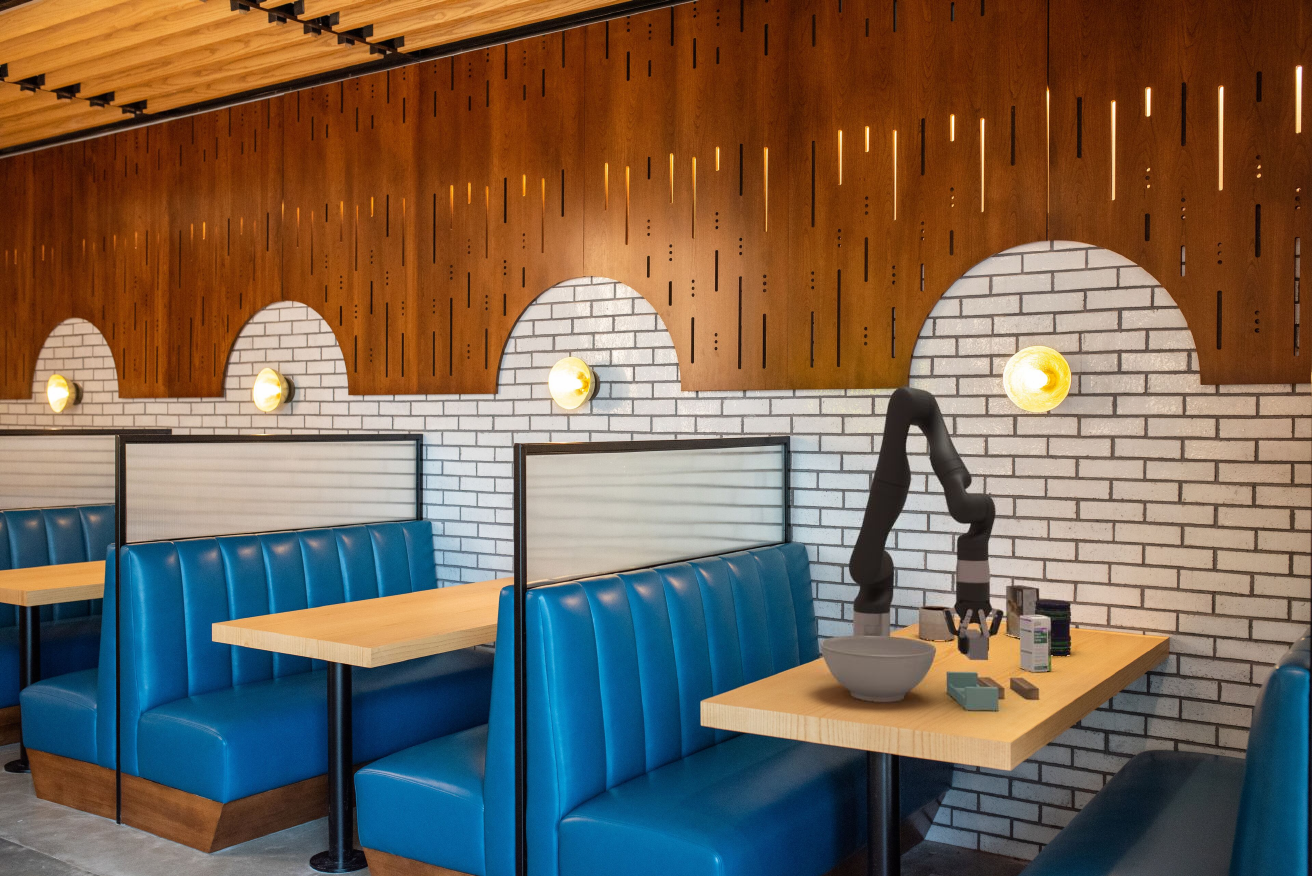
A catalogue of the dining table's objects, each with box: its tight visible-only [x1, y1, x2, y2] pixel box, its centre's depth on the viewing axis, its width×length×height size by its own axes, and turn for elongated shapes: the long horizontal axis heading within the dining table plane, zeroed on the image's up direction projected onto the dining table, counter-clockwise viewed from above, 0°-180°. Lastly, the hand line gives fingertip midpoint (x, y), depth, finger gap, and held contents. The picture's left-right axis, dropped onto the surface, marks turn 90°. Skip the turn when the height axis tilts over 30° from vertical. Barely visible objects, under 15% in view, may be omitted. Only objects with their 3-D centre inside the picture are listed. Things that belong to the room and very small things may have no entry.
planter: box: [918, 605, 956, 641], centre depth 323 cm, size 11×11×10 cm
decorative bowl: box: [819, 635, 937, 703], centre depth 244 cm, size 27×27×12 cm
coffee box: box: [1005, 584, 1040, 637], centre depth 326 cm, size 9×6×16 cm
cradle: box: [946, 671, 999, 712], centre depth 239 cm, size 7×18×5 cm, turn 178°
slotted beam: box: [978, 676, 1040, 700], centre depth 248 cm, size 11×12×2 cm
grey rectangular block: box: [963, 628, 989, 661], centre depth 238 cm, size 4×12×5 cm, turn 175°
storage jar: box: [1035, 599, 1072, 656], centre depth 299 cm, size 10×10×15 cm
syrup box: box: [1019, 615, 1052, 673], centre depth 275 cm, size 6×6×14 cm
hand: (973, 653), depth 238 cm, fingers closed on grey rectangular block, 4 cm apart
